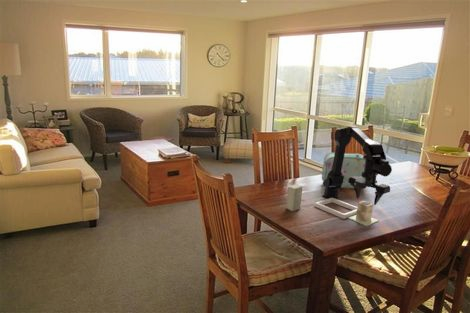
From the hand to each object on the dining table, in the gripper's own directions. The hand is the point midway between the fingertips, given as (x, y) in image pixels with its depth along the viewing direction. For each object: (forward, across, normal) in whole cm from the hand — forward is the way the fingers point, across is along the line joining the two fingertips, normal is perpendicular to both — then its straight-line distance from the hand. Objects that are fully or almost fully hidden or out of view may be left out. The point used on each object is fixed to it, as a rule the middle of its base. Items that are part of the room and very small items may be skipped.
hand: (366, 201), depth 170 cm
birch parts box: (+9, 0, 0) cm, 9 cm away
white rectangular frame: (+9, -15, 0) cm, 18 cm away
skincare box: (+10, -28, -19) cm, 35 cm away
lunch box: (+10, -36, +34) cm, 51 cm away
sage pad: (+9, 0, 0) cm, 9 cm away
